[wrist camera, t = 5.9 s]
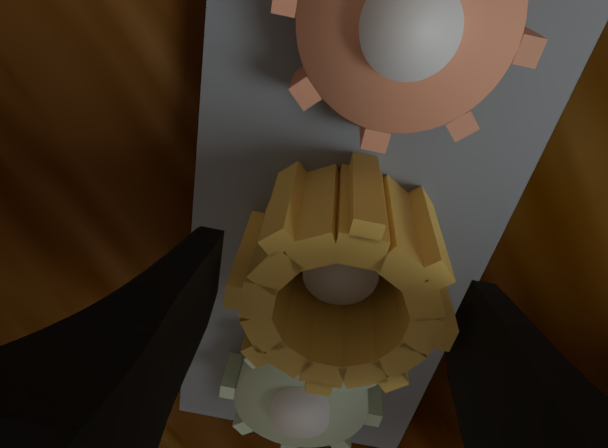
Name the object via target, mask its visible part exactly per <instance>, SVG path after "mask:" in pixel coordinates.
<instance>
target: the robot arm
mask: <svg viewBox="0 0 608 448" xmlns="http://www.w3.org/2000/svg"><path fill="white" fill-rule="evenodd" d="M223 240H224V230H219V229H214V228H209V227H204V226H200V227H198V228H196V229H195V230H194V231H193V232H192V233H191V234H189V235H188V236H187V237H186V238H185V239H184V240H183V241H181V242H180V243H179V244H178V245H177V246H176V247H174V248H173V249H172V250H171V251H170V252H168V253H167V254H166V255H165V256H163V257H162V258H161V259H159V260H158V261H157V262H156V263H154V264H153V265H152V266H150V267H149V268H148V269H146V270H145V271H144V272H142V273H141V274H139V275H138V276H137V277H135V278H134V279H132V280H131V281H129V282H128V283H126V284H125V285H123V286H122V287H121V288H119V289H117V290H116V291H114V292H113V293H111V294H109V295H108V296H106V297H105V298H103V299H101V300H99V301H98V302H96V303H94V304H92V305H91V306H89V307H87V308H85V309H83V310H82V311H80V312H78V313H76V314H74V315H71V316H69V317H67V318H65V319H63V320H61V321H59V322H57V323H55V324H52V325H50V326H48V327H46V328H44V329H42V330H39V331H37V332H35V333H32V334H30V335H27V336H25V337H23V338H20V339H18V340H15V341H12V342H10V343H7V344H4V345H2V346H0V448H158V446H159V443H160V440H161V437H162V434H163V431H164V428H165V425H166V422H167V419H168V417H169V414H170V411H171V409H172V406H173V404H174V401H175V399H176V397H177V394H178V392H179V390H180V388H181V385H182V383H183V381H184V379H185V376H186V374H187V372H188V370H189V367H190V365H191V363H192V361H193V358H194V356H195V354H196V351H197V349H198V347H199V345H200V342H201V340H202V338H203V335H204V333H205V331H206V328H207V326H208V323H209V320H210V316H211V313H212V310H213V306H214V303H215V300H216V296H217V293H218V285H219V276H220V267H221V258H222V249H223ZM455 317H456V321H457V325H458V328H459V333H458V335H457V337H456V339H455V341H454V343H453V345H452V347H451V349H450V351H449V352H447V351H446V362H447V372H448V377H449V382H450V386H451V391H452V395H453V400H454V404H455V408H456V413H457V417H458V421H459V426H460V430H461V434H462V438H463V443H464V447H465V448H608V397H607V396H606V395H604V394H603V393H602V392H601V391H600V390H599V389H598V388H597V387H595V386H594V385H593V384H592V383H591V382H590V381H589V380H588V379H587V378H586V377H585V376H584V375H583V374H582V373H581V372H580V371H579V370H577V369H576V368H575V367H574V366H573V365H572V364H571V363H570V362H569V361H568V360H567V359H566V358H565V357H564V356H563V355H562V354H561V353H560V352H559V351H558V350H557V349H556V348H555V347H554V346H553V345H552V344H551V342H550V341H549V340H548V339H547V338H546V337H545V336H544V335H543V334H542V333H541V332H540V331H539V330H538V329H537V328H536V327H535V325H534V324H533V323H532V322H531V321H530V320H529V319H528V318H527V317H526V316H525V315H524V314H523V312H522V311H521V310H520V309H519V308H518V307H517V306H516V305H515V304H514V303H513V302H512V301H511V299H510V298H509V297H508V296H507V295H506V294H505V293H504V292H503V291H502V290H501V289H500V288H499V287H498V286H497V285H495V284H491V283H486V282H481V281H476V280H472V281H471V283H470V285H469V287H468V289H467V291H466V293H465V295H464V297H463V299H462V302H461V304H460V306H459V308H458V310H457V312H456V314H455Z"/></svg>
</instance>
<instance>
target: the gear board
mask: <svg viewBox="0 0 608 448" xmlns="http://www.w3.org/2000/svg"><path fill="white" fill-rule="evenodd" d="M607 20H608V0H207V1H206V16H205V31H204V46H203V61H202V76H201V91H200V107H199V122H198V137H197V152H196V167H195V182H194V197H193V212H192V227H191V233H192V232H193V231H194V230H195V229H196V228H198V227H200V226H204V227H209V228H214V229H219V230H224V240H223V249H222V258H221V267H220V276H219V285H218V293H217V296H216V300H215V303H214V306H213V310H212V313H211V316H210V320H209V323H208V326H207V328H206V331H205V333H204V335H203V338H202V340H201V342H200V345H199V347H198V349H197V351H196V354H195V356H194V358H193V361H192V363H191V365H190V367H189V370H188V372H187V374H186V376H185V379H184V381H183V383H182V385H181V393H180V408H179V410H181V411H187V412H192V413H197V414H202V415H208V416H213V417H218V418H224V419H229V420H234V421H233V425H232V426H233V427H234V428H235V429H236V430H237V431H238V432H239V433H240V434H242V435H245V434H247V433H250V432H253V431H254V432H256V433H257V434H259V435H260V436H262V437H264V438H266V439H268V440H271V441H273V442H276V443H280V448H298V447H303V448H315V447H324V446H329V445H330V446H331V447H332V448H351V442H352V443H357V444H362V445H368V446H373V447H378V448H397V447H398V445H399V443H400V441H401V439H402V437H403V435H404V433H405V431H406V429H407V427H408V425H409V423H410V421H411V419H412V417H413V415H414V413H415V411H416V409H417V407H418V405H419V402H420V400H421V398H422V396H423V394H424V392H425V390H426V388H427V386H428V384H429V382H430V380H431V378H432V376H433V374H434V372H435V370H436V368H437V366H438V364H439V362H440V360H441V358H442V356H443V354H444V352H445V351H442V350H436V349H433V350H432V353H431V355H429V354H426V357H427V359H426V360H424V361H422V362H421V363H419V364H418V365H416V366H415V367H413V368H412V369H410V370H409V371H408V377H409V385H406V386H404V387H401V388H398V389H395V390H393V391H390V392H387V393H385V392H384V391H383V390H382V388H381V387H380V386H379V385H378V384H374V385H368V386H362V387H356V388H350V389H346V386H345V384H344V382H343V383H342V386H341V389H339V388H333V389H332V392H331V395H330V397H327V396H322V395H317V394H312V393H306V392H304V390H305V382H302V381H299V379H300V374H299V375H298V376H297V377H295V378H294V379H293V378H292V377H290V376H289V375H287V374H286V373H284V372H282V371H281V370H279V369H278V368H276V367H275V366H273V365H272V364H270V363H267V364H265V365H263V366H260V367H258V368H256V367H255V366H254V365H253V364H252V363H251V362H250V361H249V360H248V359H247V358H246V357H245V356H244V355H243V354H242V353H241V352H240V350H241V346H242V342H243V338H244V335H245V331H244V330H243V328H242V326H241V324H240V322H239V321H240V317H238V316H239V311H238V310H233V309H228V308H223V303H224V295H225V287H226V283H227V280H228V277H229V275H230V272H231V269H232V266H233V263H234V260H235V258H236V255H237V252H238V249H239V246H240V243H241V240H242V238H243V235H244V232H245V229H246V226H247V223H248V221H249V218H250V215H251V212H252V211H257V212H262V213H265V210H266V207H267V206H268V203H269V202H270V199H271V195H272V192H273V189H274V185H275V182H276V179H277V175H278V173H279V172H281V171H282V170H284V169H286V168H287V167H289V166H291V165H292V164H294V163H296V162H297V161H299V162H300V163H301V164H302V166H303V167H304V169H305V170H306V171H307V172H309V171H312V170H316V169H319V168H323V167H326V166H330V165H333V164H336V165H337V168H338V171H339V173H340V169H341V165H342V164H347V165H349V164H350V161H351V157H352V153H353V152H356V153H361V154H366V155H371V156H376V157H378V160H379V168H380V171H381V172H382V177H384V176H385V175H389V176H390V177H391V178H392V179H393V180H394V181H395V182H397V183H398V184H399V185H400V186H401V187H402V188H404V189H405V190H406V191H407V192H410V191H412V190H414V189H416V188H418V187H420V186H422V187H423V189H424V190H425V192H426V194H427V195H428V197H429V198H430V200H431V202H432V203H433V206H434V209H435V212H436V216H437V219H438V222H439V226H440V229H441V232H442V236H443V239H444V243H445V246H446V249H447V253H448V256H449V259H450V263H451V266H452V270H453V273H454V276H455V280H456V282H455V283H453V284H451V285H449V286H447V287H448V291H449V295H450V299H451V302H452V306H453V310H454V314H456V312H457V310H458V308H459V306H460V304H461V302H462V299H463V297H464V295H465V293H466V291H467V289H468V287H469V285H470V283H471V281H472V280H476V281H479V280H480V278H481V276H482V274H483V272H484V270H485V268H486V266H487V264H488V262H489V260H490V258H491V256H492V254H493V252H494V250H495V248H496V246H497V244H498V242H499V240H500V238H501V236H502V234H503V232H504V230H505V228H506V226H507V223H508V221H509V219H510V217H511V215H512V213H513V211H514V209H515V207H516V205H517V203H518V201H519V199H520V197H521V195H522V193H523V191H524V189H525V187H526V185H527V183H528V181H529V179H530V177H531V175H532V173H533V171H534V169H535V167H536V164H537V162H538V160H539V158H540V156H541V154H542V152H543V150H544V148H545V146H546V144H547V142H548V140H549V138H550V136H551V134H552V132H553V130H554V128H555V126H556V124H557V122H558V120H559V118H560V116H561V114H562V112H563V110H564V108H565V106H566V103H567V101H568V99H569V97H570V95H571V93H572V91H573V89H574V87H575V85H576V83H577V81H578V79H579V77H580V75H581V73H582V71H583V69H584V67H585V65H586V63H587V61H588V59H589V57H590V55H591V53H592V51H593V49H594V47H595V44H596V42H597V40H598V38H599V36H600V34H601V32H602V30H603V28H604V26H605V24H606V22H607ZM378 279H379V274H378V273H377V272H376V271H373V270H368V269H363V268H358V267H353V266H348V265H343V264H338V263H336V264H332V265H327V266H323V267H319V268H315V269H310V270H306V271H303V281H304V284H305V286H306V288H307V289H308V290H309V292H310V293H311V294H312V295H314V296H315V297H316V298H318V299H319V300H321V301H323V302H326V303H330V304H334V305H349V304H354V303H357V302H359V301H362V300H363V299H365V298H367V297H368V296H369V295H370V294H371V293H372V292H373V291H374V289H375V288H376V286H377V283H378Z"/></svg>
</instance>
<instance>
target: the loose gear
mask: <svg viewBox="0 0 608 448" xmlns="http://www.w3.org/2000/svg"><path fill="white" fill-rule="evenodd" d="M336 263H338V264H343V265H348V266H353V267H358V268H363V269H368V270H373V271H376V272H377V273H378V274H379V279H378V283H377V286H376V288H375V289H374V291H373V292H372V293H371V294H370V295H369V296H368V297H367V298H365V299H363V300H362V301H359V302H357V303H354V304H349V305H334V304H330V303H326V302H323V301H321V300H319V299H318V298H316V297H315V296H314V295H312V294H311V293H310V292H309V290H308V289H307V288H306V286H305V284H304V281H303V271H306V270H310V269H315V268H319V267H323V266H327V265H332V264H336ZM455 282H456V280H455V276H454V273H453V270H452V266H451V263H450V259H449V256H448V253H447V249H446V246H445V243H444V239H443V236H442V232H441V229H440V226H439V222H438V219H437V216H436V212H435V209H434V206H433V203H432V202H431V200H430V198H429V197H428V195H427V194H426V192H425V190H424V189H423V187H422V186H420V187H418V188H416V189H414V190H412V191H410V192H407V191H406V190H405V189H404V188H402V187H401V186H400V185H399V184H398V183H397V182H395V181H394V180H393V179H392V178H391V177H390V176H389V175H385V176H384V177H382V172H381V171H380V168H379V160H378V157H376V156H371V155H366V154H361V153H356V152H353V153H352V157H351V161H350V164H349V165H347V164H342V165H341V169H340V173H339V171H338V168H337V165H336V164H333V165H330V166H326V167H323V168H319V169H316V170H312V171H309V172H307V171H306V170H305V169H304V167H303V166H302V164H301V163H300V162H299V161H297V162H296V163H294V164H292V165H291V166H289V167H287V168H286V169H284V170H282V171H281V172H279V173H278V175H277V179H276V182H275V185H274V189H273V192H272V195H271V199H270V202H269V203H268V206H267V207H266V210H265V213H262V212H257V211H252V212H251V215H250V218H249V221H248V223H247V226H246V229H245V232H244V235H243V238H242V240H241V243H240V246H239V249H238V252H237V255H236V258H235V260H234V263H233V266H232V269H231V272H230V275H229V277H228V280H227V283H226V287H225V295H224V303H223V308H228V309H233V310H238V311H239V316H238V317H240V321H239V322H240V324H241V326H242V328H243V330H244V331H245V335H244V338H243V342H242V346H241V350H240V352H241V353H242V354H243V355H244V356H245V357H246V358H247V359H248V360H249V361H250V362H251V363H252V364H253V365H254V366H255V367H256V368H258V367H260V366H263V365H265V364H267V363H270V364H272V365H273V366H275V367H276V368H278V369H279V370H281V371H282V372H284V373H286V374H287V375H289V376H290V377H292V378H293V379H294V378H295V377H297V376H298V375H299V374H300V379H299V381H302V382H305V390H304V392H306V393H312V394H317V395H322V396H327V397H330V395H331V392H332V389H333V388H339V389H341V386H342V383H343V382H344V384H345V386H346V389H350V388H356V387H362V386H368V385H374V384H378V385H379V386H380V387H381V388H382V390H383V391H384V392H385V393H387V392H390V391H393V390H395V389H398V388H401V387H404V386H406V385H409V377H408V371H409V370H410V369H412V368H413V367H415V366H416V365H418V364H419V363H421V362H422V361H424V360H426V359H427V357H426V354H429V355H431V353H432V350H433V349H436V350H442V351H447V352H449V351H450V349H451V347H452V345H453V343H454V341H455V339H456V337H457V335H458V333H459V328H458V325H457V321H456V317H455V314H454V310H453V306H452V302H451V299H450V295H449V291H448V287H447V286H449V285H451V284H453V283H455Z"/></svg>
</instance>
